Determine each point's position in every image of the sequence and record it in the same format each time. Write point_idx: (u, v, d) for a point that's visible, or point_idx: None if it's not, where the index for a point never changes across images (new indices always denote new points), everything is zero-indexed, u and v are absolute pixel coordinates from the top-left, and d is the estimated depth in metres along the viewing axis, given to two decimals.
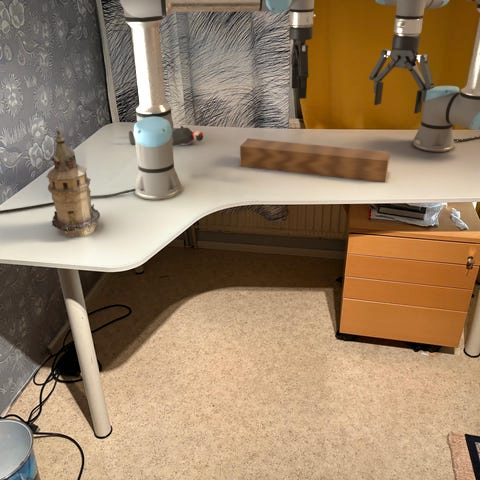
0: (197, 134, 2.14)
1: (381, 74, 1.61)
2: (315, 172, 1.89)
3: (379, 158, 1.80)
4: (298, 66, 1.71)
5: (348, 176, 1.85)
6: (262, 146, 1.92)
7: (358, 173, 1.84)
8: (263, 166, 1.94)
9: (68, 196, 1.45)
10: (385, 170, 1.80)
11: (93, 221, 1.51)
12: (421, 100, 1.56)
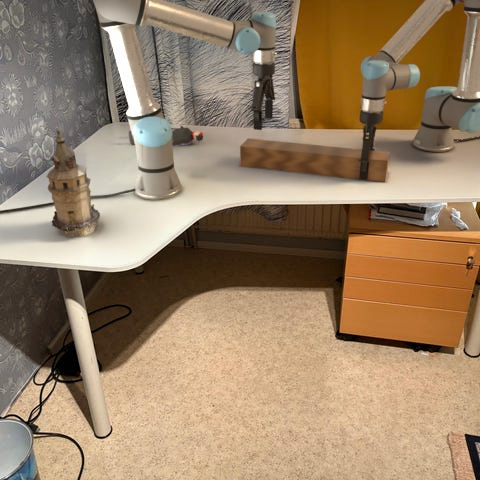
0: (197, 134, 2.14)
1: (369, 152, 1.79)
2: (315, 172, 1.89)
3: (379, 158, 1.80)
4: None
5: (348, 176, 1.85)
6: (262, 146, 1.92)
7: (358, 173, 1.84)
8: (263, 166, 1.94)
9: (68, 196, 1.45)
10: (385, 170, 1.80)
11: (93, 221, 1.51)
12: None
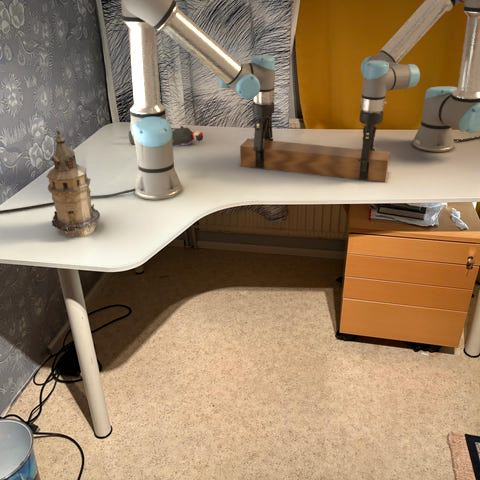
0: (197, 134, 2.14)
1: (369, 152, 1.79)
2: (315, 172, 1.89)
3: (379, 158, 1.80)
4: None
5: (348, 176, 1.85)
6: None
7: (358, 173, 1.84)
8: (263, 166, 1.94)
9: (68, 196, 1.45)
10: (385, 170, 1.80)
11: (93, 221, 1.51)
12: None
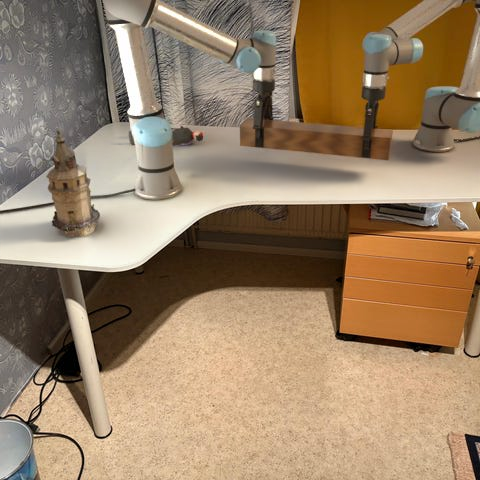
0: (197, 134, 2.14)
1: None
2: (316, 151, 1.85)
3: (382, 135, 1.77)
4: None
5: (350, 154, 1.82)
6: None
7: (360, 151, 1.80)
8: (263, 146, 1.90)
9: (68, 196, 1.45)
10: (388, 148, 1.76)
11: (93, 221, 1.51)
12: None
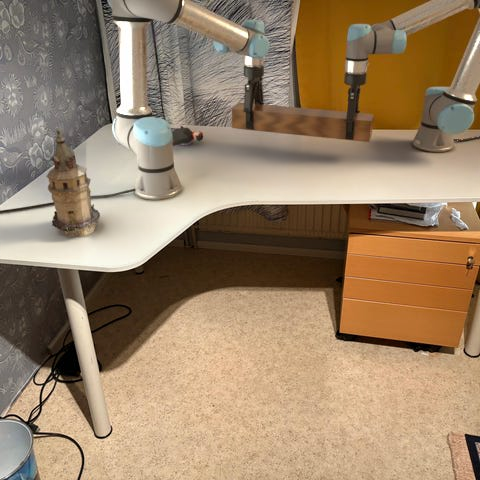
0: (197, 134, 2.14)
1: (354, 112, 1.88)
2: (303, 133, 1.98)
3: (363, 119, 1.90)
4: None
5: (334, 137, 1.95)
6: None
7: (343, 133, 1.93)
8: (253, 128, 2.03)
9: (68, 196, 1.45)
10: (369, 130, 1.90)
11: (93, 221, 1.51)
12: None
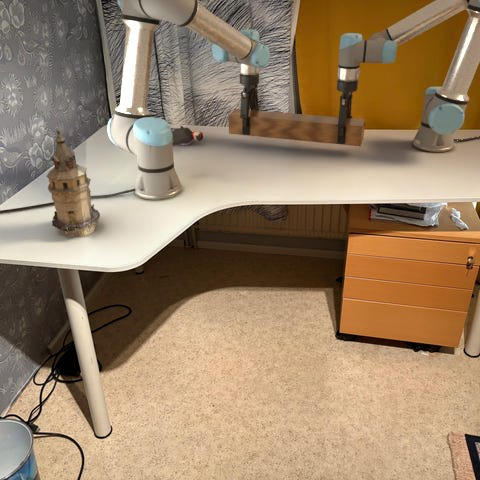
0: (197, 134, 2.14)
1: (346, 117, 1.96)
2: (297, 138, 2.06)
3: (355, 124, 1.98)
4: None
5: (327, 141, 2.02)
6: None
7: (336, 138, 2.01)
8: None
9: (68, 196, 1.45)
10: (360, 135, 1.97)
11: (93, 221, 1.51)
12: None
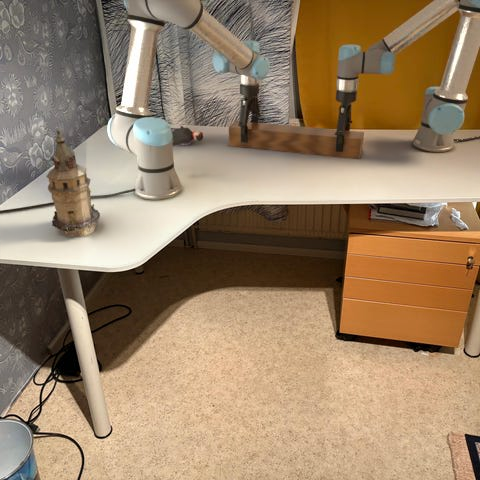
0: (197, 134, 2.14)
1: (344, 126, 1.96)
2: (296, 150, 2.08)
3: (353, 137, 2.00)
4: None
5: (326, 153, 2.05)
6: (248, 127, 2.12)
7: (335, 150, 2.03)
8: (249, 145, 2.13)
9: (68, 196, 1.45)
10: (359, 147, 2.00)
11: (93, 221, 1.51)
12: None
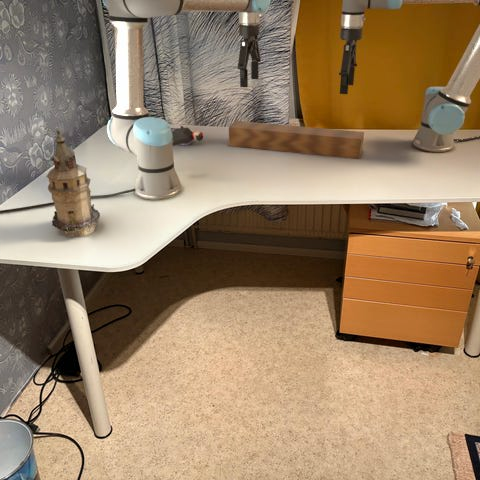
0: (197, 134, 2.14)
1: (349, 66, 1.85)
2: (296, 150, 2.08)
3: (353, 137, 2.00)
4: None
5: (326, 153, 2.05)
6: (248, 127, 2.12)
7: (335, 150, 2.03)
8: (249, 145, 2.13)
9: (68, 196, 1.45)
10: (359, 147, 2.00)
11: (93, 221, 1.51)
12: None
